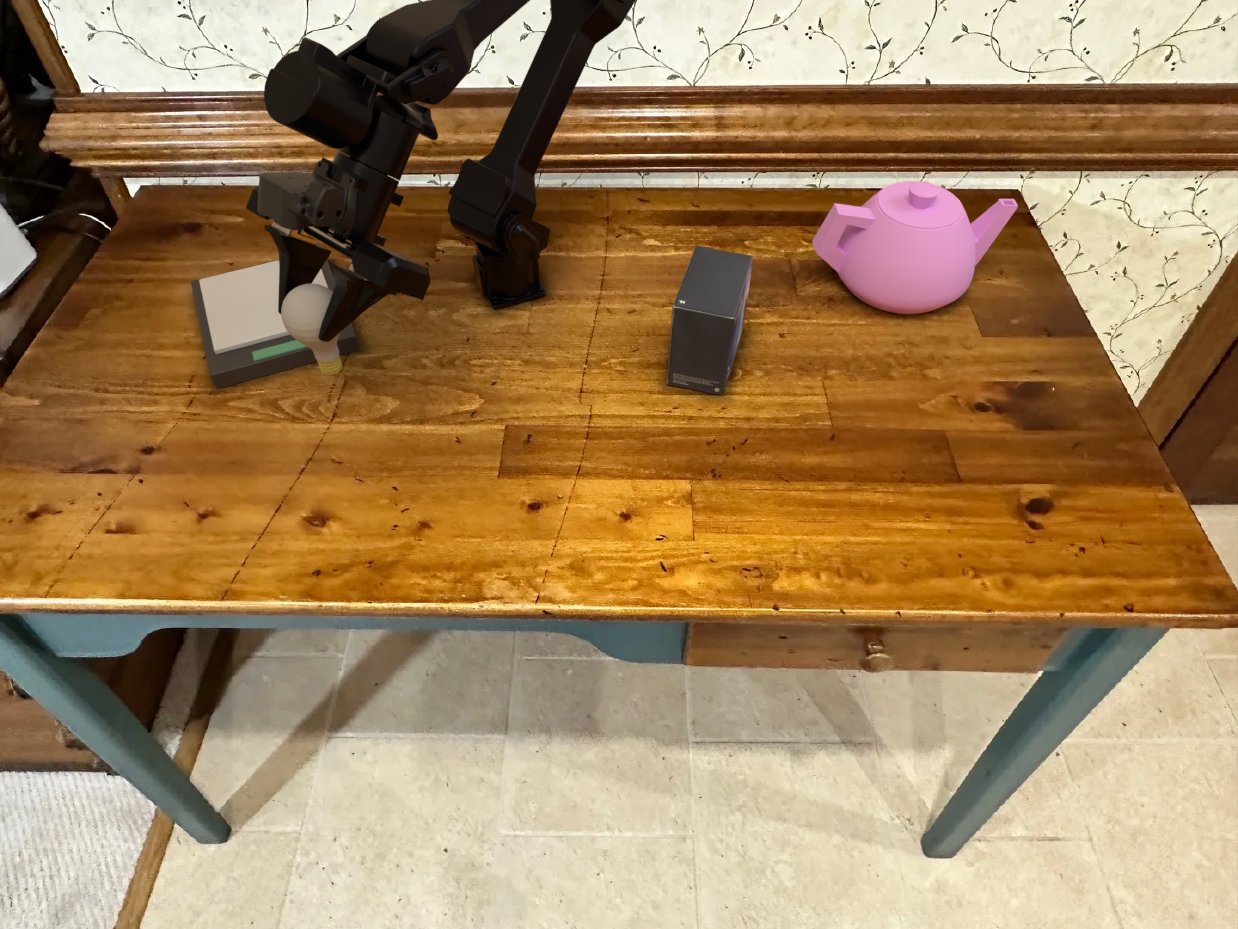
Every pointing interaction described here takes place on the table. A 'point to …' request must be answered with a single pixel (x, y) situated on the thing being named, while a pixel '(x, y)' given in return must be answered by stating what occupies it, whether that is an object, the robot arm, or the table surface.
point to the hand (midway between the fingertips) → (302, 327)
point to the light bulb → (311, 323)
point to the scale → (252, 324)
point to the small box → (708, 319)
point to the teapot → (908, 246)
